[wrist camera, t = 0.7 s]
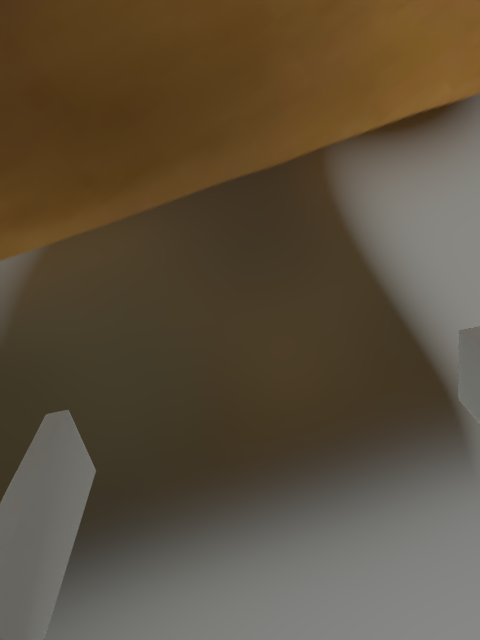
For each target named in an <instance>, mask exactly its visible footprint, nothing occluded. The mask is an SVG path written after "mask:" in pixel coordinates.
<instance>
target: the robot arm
mask: <svg viewBox="0 0 480 640" xmlns="http://www.w3.org/2000/svg"><path fill="white" fill-rule="evenodd" d="M458 374H459V375H458V378H459V379H458V399H459V400H460V402H461V403H462V404H463V405H464V406H465V408H466V409H467V410H468V411H469V412H470V413H471V415H472V416H473V417H474V418H475V419H476V421H477V422H478V423H479V424H480V326H479V327H474V328H469V329H464V330H459V373H458ZM95 472H96V470H95V468H94V466H93V463H92V461H91V459H90V457H89V455H88V452H87V450H86V448H85V446H84V443H83V441H82V439H81V437H80V435H79V432H78V430H77V428H76V426H75V424H74V421H73V419H72V417H71V415H70V412H69V411H68V410H65V411H60V412H56V413H51V414H46V416H45V418H44V420H43V422H42V423H41V425H40V427H39V429H38V431H37V433H36V435H35V437H34V439H33V441H32V443H31V445H30V447H29V449H28V450H27V452H26V455H25V456H24V458H23V460H22V462H21V464H20V466H19V468H18V470H17V472H16V474H15V476H14V477H13V480H12V481H11V483H10V485H9V487H8V489H7V491H6V493H5V495H4V497H3V499H2V501H1V503H0V640H44V639H45V636H46V632H47V628H48V626H49V622H50V619H51V616H52V613H53V609H54V606H55V603H56V600H57V596H58V593H59V589H60V586H61V583H62V580H63V577H64V573H65V570H66V567H67V563H68V560H69V557H70V553H71V550H72V547H73V544H74V540H75V537H76V534H77V531H78V527H79V524H80V521H81V518H82V514H83V511H84V508H85V504H86V501H87V498H88V495H89V491H90V488H91V485H92V482H93V478H94V475H95Z"/></svg>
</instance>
